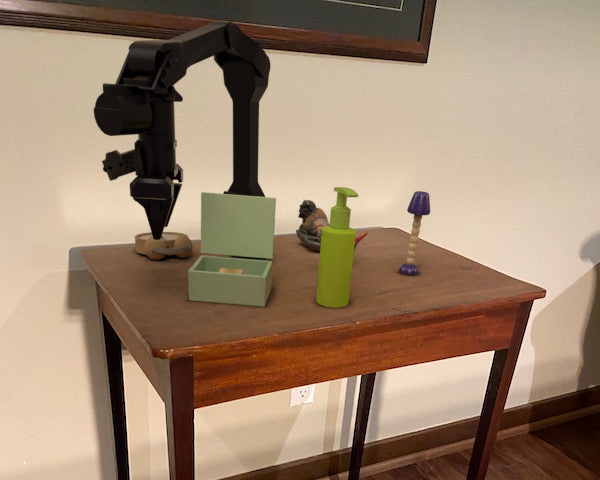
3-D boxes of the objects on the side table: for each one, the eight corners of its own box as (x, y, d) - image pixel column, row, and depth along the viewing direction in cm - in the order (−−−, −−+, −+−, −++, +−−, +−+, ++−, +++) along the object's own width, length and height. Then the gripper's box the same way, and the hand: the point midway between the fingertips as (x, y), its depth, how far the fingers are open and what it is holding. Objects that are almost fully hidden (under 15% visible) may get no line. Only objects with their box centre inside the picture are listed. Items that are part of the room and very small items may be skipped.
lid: (275, 198, 109) (276, 197, 110) (201, 192, 110) (202, 192, 111) (272, 258, 114) (273, 258, 114) (200, 253, 114) (201, 252, 115)
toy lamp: (424, 273, 132) (437, 193, 124) (412, 277, 129) (424, 195, 121) (405, 268, 134) (417, 189, 127) (393, 272, 131) (404, 191, 123)
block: (216, 296, 109) (216, 274, 107) (220, 289, 112) (221, 267, 110) (239, 298, 109) (239, 276, 107) (242, 291, 112) (243, 269, 110)
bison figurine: (338, 253, 142) (342, 208, 137) (311, 255, 139) (314, 209, 134) (314, 240, 151) (317, 198, 147) (288, 242, 148) (290, 199, 144)
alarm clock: (178, 230, 140) (200, 234, 127) (180, 252, 141) (201, 258, 129) (128, 233, 135) (146, 237, 122) (130, 256, 136) (148, 262, 124)
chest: (264, 306, 108) (265, 277, 105) (188, 300, 108) (188, 270, 105) (271, 288, 117) (272, 260, 114) (201, 282, 117) (201, 255, 115)
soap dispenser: (327, 311, 108) (337, 192, 98) (310, 298, 113) (319, 184, 104) (356, 308, 110) (370, 191, 100) (339, 295, 115) (350, 184, 106)
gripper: (116, 125, 105) (122, 218, 112) (90, 135, 88) (100, 244, 96) (182, 129, 106) (184, 221, 113) (169, 140, 89) (172, 247, 97)
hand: (160, 232), depth 104 cm, fingers open, 9 cm apart
